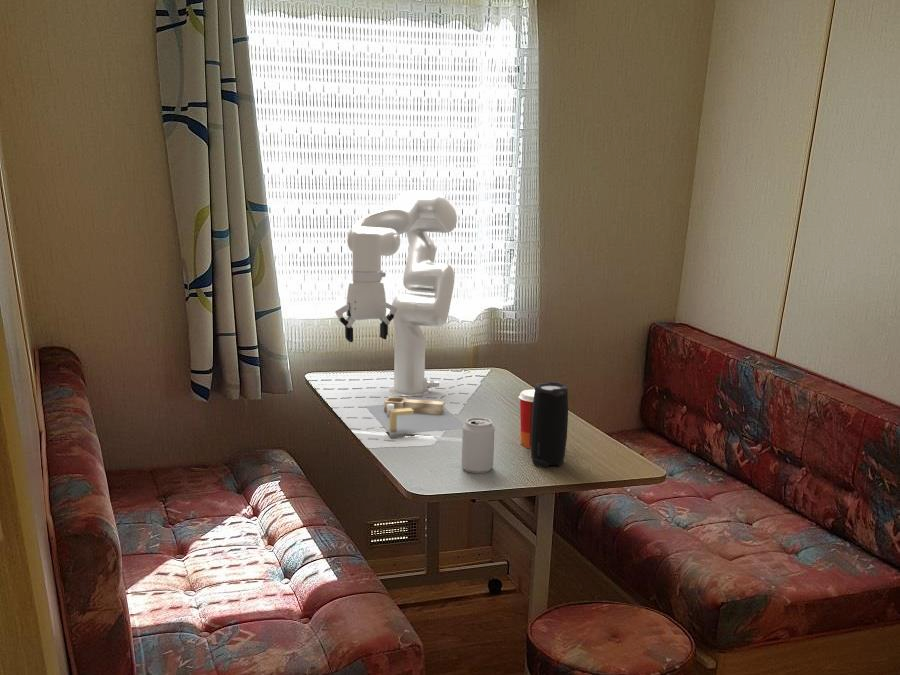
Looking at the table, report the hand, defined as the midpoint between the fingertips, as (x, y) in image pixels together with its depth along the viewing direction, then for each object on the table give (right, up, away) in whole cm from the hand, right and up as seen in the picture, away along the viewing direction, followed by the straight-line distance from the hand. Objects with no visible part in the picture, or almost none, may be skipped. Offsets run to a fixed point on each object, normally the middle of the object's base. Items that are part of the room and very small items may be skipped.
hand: (366, 339), depth 220 cm
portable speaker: (+46, -30, -22) cm, 60 cm away
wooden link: (+12, -21, +13) cm, 27 cm away
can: (+29, -31, -28) cm, 51 cm away
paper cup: (+44, -27, -10) cm, 52 cm away
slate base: (+13, -23, +9) cm, 27 cm away
